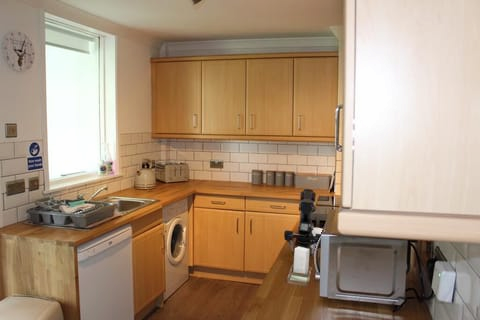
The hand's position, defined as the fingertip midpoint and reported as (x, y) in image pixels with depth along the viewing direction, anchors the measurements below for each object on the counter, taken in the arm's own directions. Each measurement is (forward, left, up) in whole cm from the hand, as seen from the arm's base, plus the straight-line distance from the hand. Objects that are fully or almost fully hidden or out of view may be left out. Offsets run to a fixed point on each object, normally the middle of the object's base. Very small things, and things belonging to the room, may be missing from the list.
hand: (302, 253), depth 200 cm
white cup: (-30, -23, -9) cm, 39 cm away
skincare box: (+1, +1, -9) cm, 10 cm away
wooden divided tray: (+4, +4, -9) cm, 11 cm away
